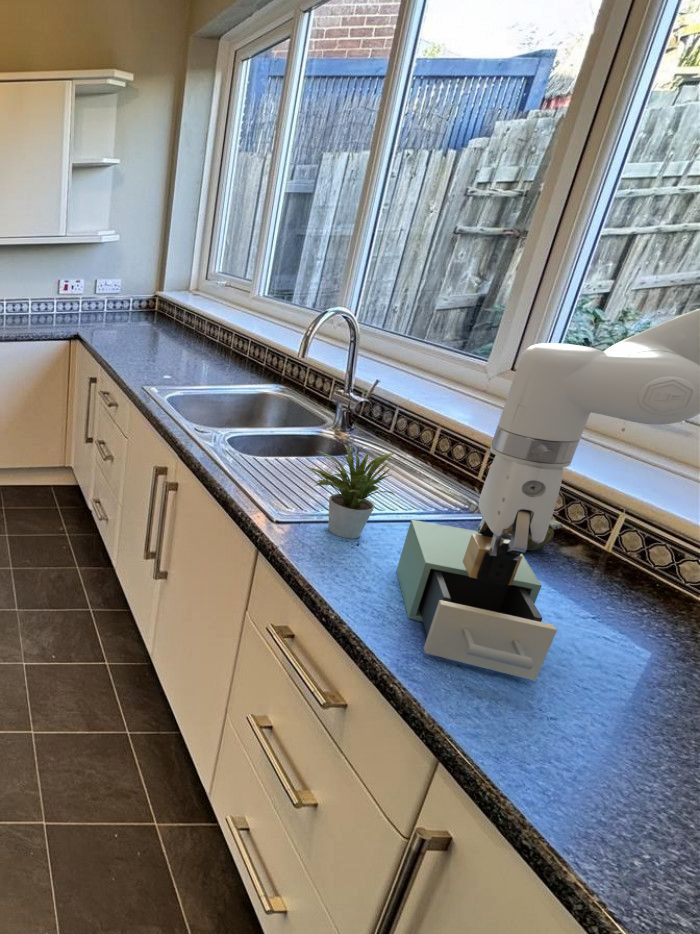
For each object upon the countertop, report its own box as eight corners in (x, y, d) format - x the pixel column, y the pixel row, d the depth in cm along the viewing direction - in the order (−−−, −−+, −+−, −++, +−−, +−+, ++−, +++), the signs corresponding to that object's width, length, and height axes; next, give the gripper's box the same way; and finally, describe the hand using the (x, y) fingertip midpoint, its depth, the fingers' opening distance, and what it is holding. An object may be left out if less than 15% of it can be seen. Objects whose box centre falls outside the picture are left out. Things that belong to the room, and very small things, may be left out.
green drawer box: (518, 644, 85) (541, 585, 81) (408, 618, 91) (425, 562, 87) (492, 590, 97) (511, 536, 93) (396, 570, 102) (411, 519, 99)
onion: (547, 542, 110) (563, 502, 107) (550, 561, 104) (566, 519, 101) (492, 530, 115) (506, 491, 112) (492, 547, 109) (506, 507, 106)
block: (502, 569, 83) (513, 541, 82) (511, 585, 80) (522, 556, 78) (462, 561, 85) (471, 533, 84) (469, 577, 82) (479, 548, 80)
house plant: (335, 506, 125) (353, 430, 119) (407, 536, 113) (431, 454, 107) (286, 521, 119) (303, 442, 113) (357, 554, 107) (380, 468, 101)
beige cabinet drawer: (548, 707, 73) (571, 654, 70) (430, 676, 78) (448, 625, 75) (507, 621, 88) (524, 575, 85) (410, 600, 93) (424, 555, 90)
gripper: (600, 475, 67) (543, 614, 74) (550, 429, 81) (506, 550, 88) (512, 463, 71) (465, 597, 77) (478, 421, 84) (441, 538, 91)
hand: (487, 571), depth 82 cm, fingers closed on block, 4 cm apart
